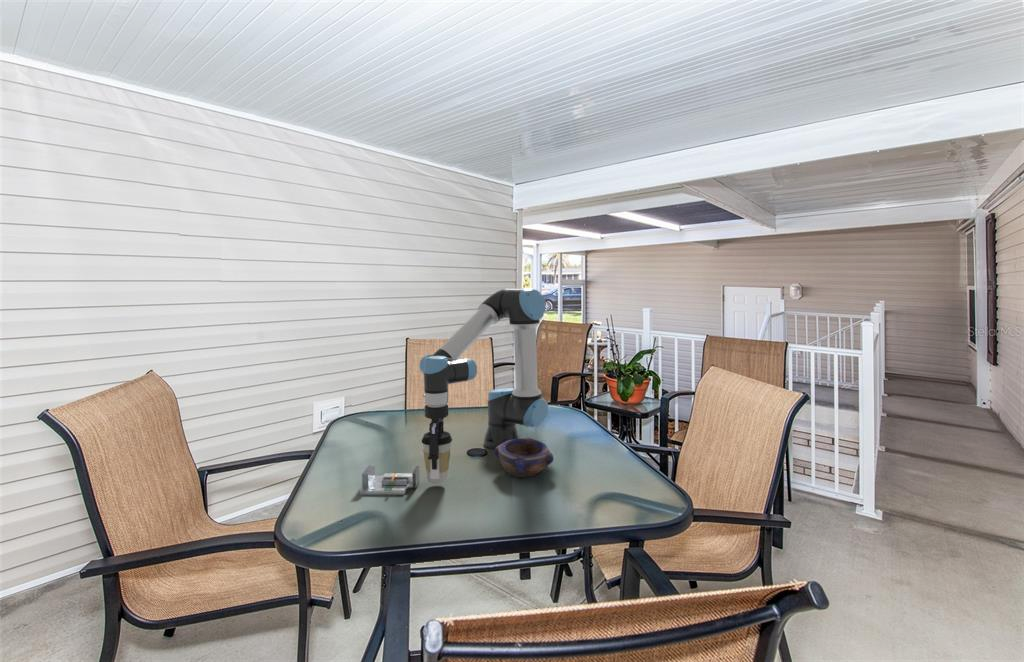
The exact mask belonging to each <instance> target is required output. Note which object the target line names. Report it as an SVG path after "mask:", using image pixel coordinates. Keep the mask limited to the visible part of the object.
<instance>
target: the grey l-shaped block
mask: <svg viewBox="0 0 1024 662" xmlns="http://www.w3.org/2000/svg"><path fill="white" fill-rule="evenodd" d="M375 467H376V466H375V465H368V466H367V467H366V468H365V469H364V471H363V472H362V473H361V484H362V485H361V488H360V489H359V496H362V495H363V496H365V495H371V496H372V495H373V496H374V495H378V496H380V495H382V496H383V495H385V496H386V495H388V496H389V495H394V496H395V495H398V496H399V495H406V493H407V491H408V489H409V487H410V485H411V484H407V479H394V481H391V479H383V475H376V469H375Z"/></svg>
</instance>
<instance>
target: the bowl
mask: <svg viewBox="0 0 1024 662" xmlns="http://www.w3.org/2000/svg"><path fill="white" fill-rule="evenodd" d="M494 454H495V456H496V458H497V459H498V461H500V465H501V466H502V467H503V468H504V470H505V471H506V472H507V473H509V474H510V475H512V476H513V477H518V478H524V477H525V478H526V477H532V476H535V475H537V474H538V473H541V471H543V470H544V469H545V468H547V467H548V466H549V465H551V464H552V463H554V455H553V453H552V452H551V451H550V449H549V447H548V446H547V444H546V443H544V442H542V441H540V440H538V439H534V438H530V437H528V438H527V437H523V438H522V437H520V439H512V440H508V441H506V442H504V443H502V444H501V445H499V446H497V447H496V448H495V449H494Z"/></svg>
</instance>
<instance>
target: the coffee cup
mask: <svg viewBox="0 0 1024 662" xmlns="http://www.w3.org/2000/svg"><path fill="white" fill-rule="evenodd" d="M429 441H430V432H429V431H428V432H425V433H424V434H423V437H422V438H421V443H422V446H423V458H424V464H425V472H426V475H427V482H428V483H431V484H442V483H446V482H447V480H448V473H449V468H450V457H451V449H452V448H451V445H452V444H451V443H452V441H453V437H452V436H451V433H450V432H449V431H446V430H444V431H443V432H442V433H441V437H440V438H438V446H439V475H440V478H439V479H431V472H430V459H428V457H429Z"/></svg>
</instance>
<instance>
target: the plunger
mask: <svg viewBox="0 0 1024 662" xmlns="http://www.w3.org/2000/svg"><path fill="white" fill-rule="evenodd" d="M382 476H383V479H391V481H394V479H407V484H410V485H411V484H412V489H416V488H417V487H418V484H419V482H420V466H419V465H416V466H415V468H414V470H413V471H412V472H411V473H409V472H405V473H404V472H403V473H401V472H398V473H397V472H396V473H395V472H394V473H393V472H389V473H388V472H386V473H384V474H383V475H382Z"/></svg>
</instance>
